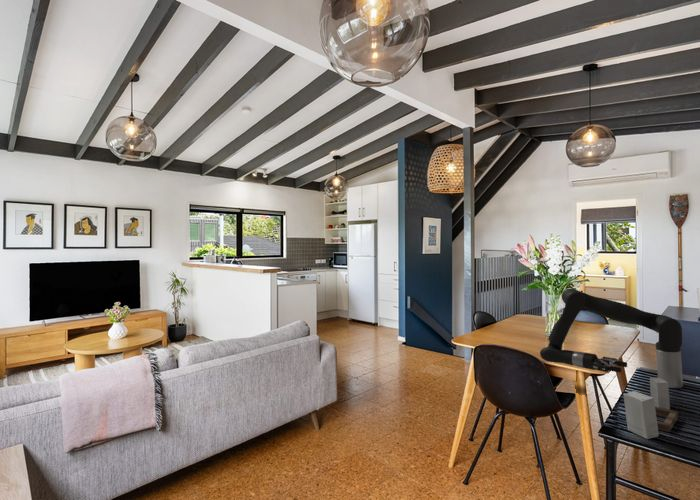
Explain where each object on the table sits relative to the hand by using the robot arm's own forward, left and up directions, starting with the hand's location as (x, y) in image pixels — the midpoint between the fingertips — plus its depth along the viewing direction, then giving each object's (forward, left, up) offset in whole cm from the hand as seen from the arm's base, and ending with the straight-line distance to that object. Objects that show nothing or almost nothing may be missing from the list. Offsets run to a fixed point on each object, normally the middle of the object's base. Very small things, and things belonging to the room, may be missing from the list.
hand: (624, 367), depth 174 cm
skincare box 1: (+28, +12, -15) cm, 34 cm away
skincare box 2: (0, +12, -15) cm, 20 cm away
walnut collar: (+14, +12, -15) cm, 24 cm away
